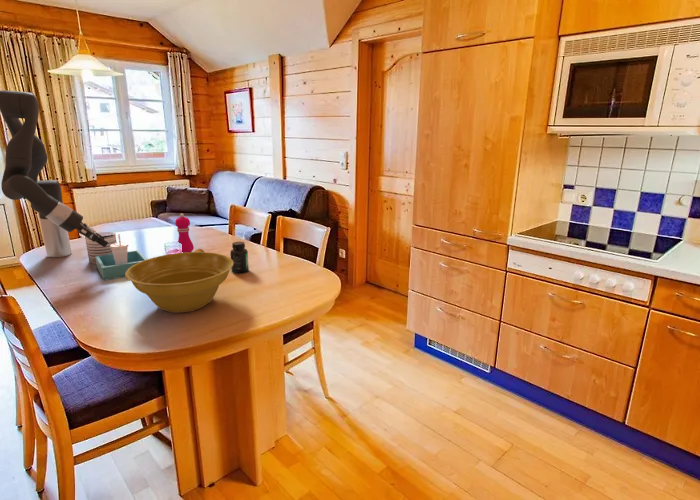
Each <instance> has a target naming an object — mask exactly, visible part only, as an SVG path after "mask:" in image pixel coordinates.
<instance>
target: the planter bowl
mask: <svg viewBox="0 0 700 500" xmlns="http://www.w3.org/2000/svg"><path fill="white" fill-rule="evenodd" d="M146 259H147V260H144V261H141V262H139V263H137V264H135V265H133V266H131V267H130V268H129V269H128V270H127V271H126V273H125V276H126V277H125V278H126V279H127V280H129V281H130V282H131V283H132V285H133V286H134V288H135V289H136V290H137V291H138V292H141V293H143V294H144V295H147V296H148V298H149V299H150V301H152V303H153V304H154V305H155V306H156V307H158V308H159V309H160V310H163V311H166V312H168V313H189V312H193V311H197V310H198V309H202V308H203V307H205V306H206V305H207V304H209V303H211V302H212V300H213V298H214V297H215V295H216V293H217V291H218V289H219V287H220V285H221V284H223V282H225V281H226V279H228V278H227V277H228V276H229V273H230V270H231V268H232V267H233V264H234V262H233V260H232V259H231V257H229V256H228V255H224V254H220V253H216V252H205V251H204V252H194V251H192V252H186V253H179V252H177V253H170V254H164V255H159V256H155V257H154V256H153V257H150V258H146Z"/></svg>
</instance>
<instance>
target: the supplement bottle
mask: <svg viewBox="0 0 700 500" xmlns="http://www.w3.org/2000/svg"><path fill="white" fill-rule="evenodd" d="M245 244H246V243H245V242H244V241H233V242H232V243H231V245H232V246H231V247H232V249H231V250H230V251H229V253H230V257H229V258H231V259H232V260H233V262H234V264H233V267H232V268H231V269H230V270H231V273H232V274H235V275H236V274H237V275H242V274H247V273H248V272H249V269H250V267H249V253H248V250H247V248H246V246H245Z"/></svg>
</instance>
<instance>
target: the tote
mask: <svg viewBox="0 0 700 500" xmlns="http://www.w3.org/2000/svg"><path fill="white" fill-rule="evenodd" d="M95 257H96V263H97V264H96V263H95V264H96V269H97V270H98V272H99V274H100V275H101V277H102V279H103V280H104V281H108V280H115V279H121V278H126V276H125V273H126V271H127V270H128V269H129V268H130V267H131V266H133V265H135V264H137V263H139V262H141V261H144V260H147V259H148V258H146V256H144V254H143V253H142V252H141V251H140V250H138V249H137V250H130V251H127V263H125V264H119V265H116V263H115V260H114V256H113V254H108V255H101V256H95Z"/></svg>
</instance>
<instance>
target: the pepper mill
mask: <svg viewBox="0 0 700 500" xmlns="http://www.w3.org/2000/svg"><path fill="white" fill-rule="evenodd" d="M174 222H175V223H174V224H175V226H176V227H177V228H176V229H177V232H178V239H177V242H179V243H181V244H182V252H183V253H186V252H194V251H193V250H194V249H195V247H194V244H193V241H192V240H191V238H190V233H189V232H190V226H191V221H190V219H189V218H188V217H187V216H185V214H184V213H180V214H179V216H178V217H177V218H176V219H175V221H174Z"/></svg>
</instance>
